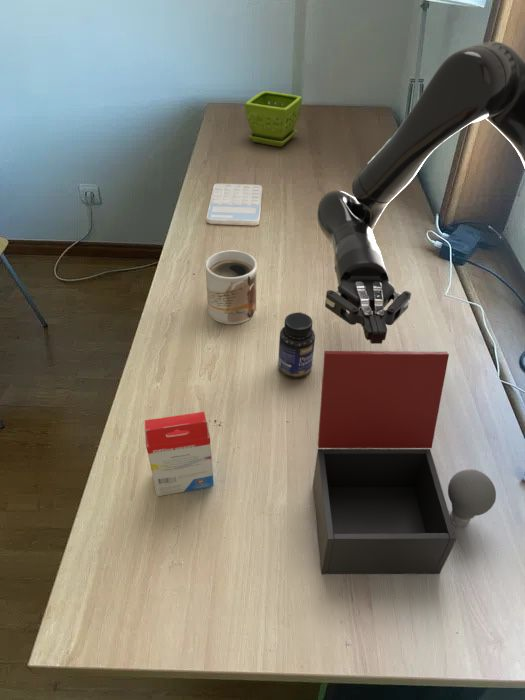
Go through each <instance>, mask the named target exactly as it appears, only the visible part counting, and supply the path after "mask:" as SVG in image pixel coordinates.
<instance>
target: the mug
mask: <svg viewBox="0 0 525 700" xmlns="http://www.w3.org/2000/svg"><path fill="white" fill-rule="evenodd" d="M204 265H205V278H206V279H205V283H206V301H207V312H208V315H209V316H210V317H211V318H212V319H213V320H214V321H216V322H218V323H221V324H225V325H239V324H243V323H246V322H248V321H250V320H251V319H252V318H253V317H254V316H255V315H256V312H257V282H258V281H257V280H258V279H257V275H258V273H257V271H258V270H257V269H258V264H257V260H256V258H255V257H253V255H251V254H249V253H247V252H245V251H242V250H236V249H235V250H234V249H229V250H228V249H227V250H221V251H218V252H215V253H213V254H212V255H210V256H209V257H208V258H207V259H206V261H205V264H204Z"/></svg>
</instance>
